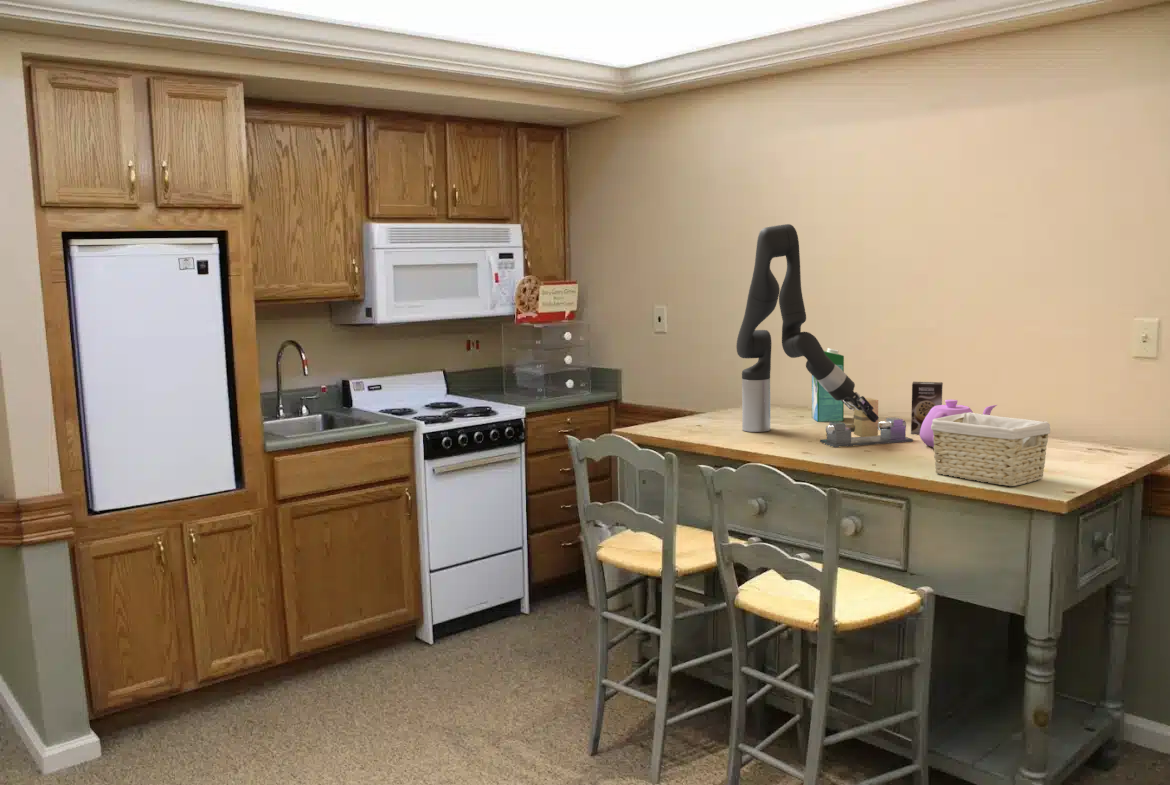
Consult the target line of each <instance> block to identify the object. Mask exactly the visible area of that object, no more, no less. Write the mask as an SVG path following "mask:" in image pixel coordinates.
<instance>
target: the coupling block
mask: <svg viewBox="0 0 1170 785" xmlns="http://www.w3.org/2000/svg"><path fill="white" fill-rule="evenodd" d="M864 398H865V399H866V400H867V401H868V402H869V403H870V405H871V406H872V407H873V408H874V409H873V410H872V411H873V412H874V413H875V414H876V415H877V416H878V417H879V399H875V398H872V397H864ZM858 407H860V406H858ZM866 409H867V408H866ZM853 412H854V413H853V424H854V425H855V431H854V432H853V435H854V436H856V437H871V436H878V435H879V430H878V422H879V419H878V420H877V421H876V422H872V421H871V420H870V419H869V418H868V417H867V416H866V415H865V414H864V413H863V412H862V411H861V410H860V411H858V410H857V409H856V408H855V407H854V411H853Z"/></svg>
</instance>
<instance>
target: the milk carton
mask: <svg viewBox="0 0 1170 785" xmlns="http://www.w3.org/2000/svg"><path fill="white" fill-rule="evenodd" d="M824 352H825V354H826V356H827V357H828V358H829V359H830V360H831V361H832V362H833V363H834V364H835V365H837V366H838V367H839V368H840V369H841V370H842V371H843V372H844V371H845V368H844V366H845V356H844V355H842V354H839V350H838V349H833V348H830V347H827V350H824ZM844 373H845V372H844ZM844 405H845V404H844V403H843V402H842V401H841V400H839V401H837V400H835V399H834V398H833V397H832V396H831V395H830V394H829V393H828V392H827V391H826V390H825V389H824V388H823V387H822V386H821V384H820V383H819V382H818V380H817V379H816V378H815V377H814V376H813V375H812V374H811V418H812V419H813V420H814V421H816V422H817V423H821V422H822V423H826V422H834V421H840V422H844V420H845V419H844V414H845V413H844V408H845V407H844Z"/></svg>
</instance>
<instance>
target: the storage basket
mask: <svg viewBox="0 0 1170 785" xmlns="http://www.w3.org/2000/svg"><path fill="white" fill-rule="evenodd" d="M931 429H932V430H933V434H934V437H933V438H934V448H933V452H934V455H933V456H934V465H935V473H936V474H937V473H939V474H938V475H941V474H943V475H942V476H944V475H949V476H948V477H952V476H954V477H953V478H957V477H960V478H959V479H961V478H965V479H964V480H970V481H975V480H977V481H976V482H979V481H981V482H980V483H984V482H988V484H993V485H999V486H1006V487H1008V486H1009V487H1017V486H1020V485H1025V484H1029V483H1033V482H1035V481H1039V480H1041V479H1043V477H1044V470H1045V464H1046V454H1047V444H1048V441H1049V440H1048V439H1049V434H1051V424H1050V422H1048V421H1047V420H1046V421H1041V420H1034V419H1025V418H1018V417H1017V418H1016V417H1007V416H1006V417H1005V416H998V415H992V414H990V415H984V414H983V413H982V414H981V413H977V412H975V413H974V412H973V413H971V412H968V413H963V414H957V415H951V416H946V417H941V418H936V419H933V421H932V425H931Z"/></svg>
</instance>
